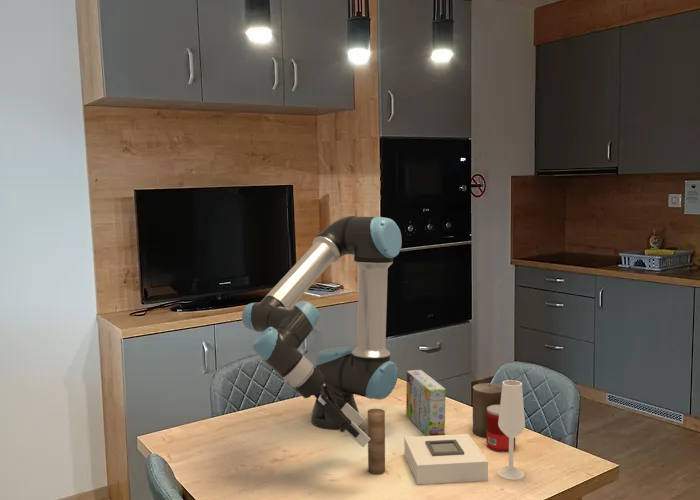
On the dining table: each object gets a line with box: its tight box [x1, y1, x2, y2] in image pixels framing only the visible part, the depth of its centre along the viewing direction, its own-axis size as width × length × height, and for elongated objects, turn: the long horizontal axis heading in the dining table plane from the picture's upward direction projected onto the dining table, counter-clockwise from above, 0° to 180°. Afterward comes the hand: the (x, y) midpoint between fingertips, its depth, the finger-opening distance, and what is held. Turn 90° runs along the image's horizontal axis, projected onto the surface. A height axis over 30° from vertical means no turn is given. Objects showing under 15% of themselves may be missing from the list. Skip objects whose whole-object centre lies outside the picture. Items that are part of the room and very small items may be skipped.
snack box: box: [405, 369, 447, 436], centre depth 200 cm, size 21×6×15 cm, turn 14°
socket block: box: [403, 433, 489, 485], centre depth 172 cm, size 18×18×6 cm
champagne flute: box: [497, 379, 526, 481], centre depth 167 cm, size 7×7×24 cm
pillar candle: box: [472, 382, 502, 438], centre depth 195 cm, size 10×10×15 cm
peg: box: [367, 408, 386, 475], centre depth 170 cm, size 4×4×16 cm
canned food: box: [485, 405, 516, 453], centre depth 185 cm, size 8×8×11 cm
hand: (363, 432), depth 168 cm, fingers open, 13 cm apart
